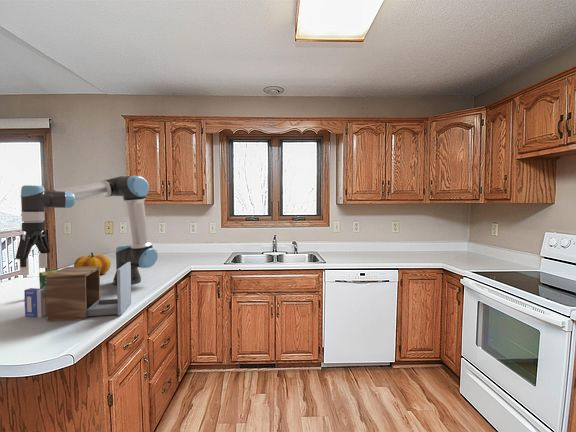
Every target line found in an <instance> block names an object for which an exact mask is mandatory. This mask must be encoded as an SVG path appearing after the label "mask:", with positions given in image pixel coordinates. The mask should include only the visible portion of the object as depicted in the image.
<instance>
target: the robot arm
mask: <svg viewBox="0 0 576 432" xmlns="http://www.w3.org/2000/svg"><path fill="white" fill-rule="evenodd" d="M149 191H150V185H149V183H148V180H146V179H145V178H144V177H143V176H141V175H126V176H124V175H121V176H116V177H111V178H107V179H103V180H102V179H101V180H100V181H99V182H96V183H88V184H82V185H74V186H69V187H61V188H56V189H49V190H45V187H44V186H42V185H30V184H29V185H28V184H27V185H26V184H25V185H22V186H21V190H20V205H21V206H20V207H21V213H20V216H21V222H22V223H21V231H22V232H24V234H20V237H19V243H18V247H17V250H16V253H15V259H16V260H19V275H20V276H29V275H30V258H28V257H29V255H30V252H31V250H32V249H33V246H36V247H37V249H38V252H39V253H38V268H39V269H47V268H48V254H50V251H51V250H50V249H51V248H50V246H49V242H48V239H47V236H46V235H47V234H46V231H45V228H46V225H45V222H44V221H45V220H46V219H45V217H46V215H45V209H48V208H51V209H57V208H58V209H67V208H72V207H74V206H75V203H76V202H78V201H84V200H89V199H95V198H98V197H106V198H110V197H122V199H123V201H124V202H125V203H126V204H127V212H128V218H129V227H130V231H131V241H132V244H125V245H118V246H117V247H116V249H115V257H116V258H115V262H116V263H115V265H116V266H115V267H116V268H115V269H116V271H115V274H114V277H113V281H112V284H113V285H114V286H117V269H119V268H120V267H122V266H123V265H124V264H126V263H127V262H131V285H135V284H139V283H140V282H142V276H141V274H140V271H139V268H141V269H149V268H151V267H153V266H154V265H155V264H156V262H157V261H158V255H159V254H158V251H157V250H156V249H155V248H153V243H152V242H150V240H149V231H148V225H147V218H146V210H145V209H146V208H145V201H146V199H147V195H148V194H149Z"/></svg>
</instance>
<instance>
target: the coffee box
mask: <svg viewBox="0 0 576 432" xmlns="http://www.w3.org/2000/svg"><path fill="white" fill-rule="evenodd" d="M59 270H60V269H58V268H57V269H51V270H46V271H41V272H38V275H39V276H38V278H39V279H38V280H39V289H46V276H48V275H50V274H52V273H54V272H57V271H59Z"/></svg>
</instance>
